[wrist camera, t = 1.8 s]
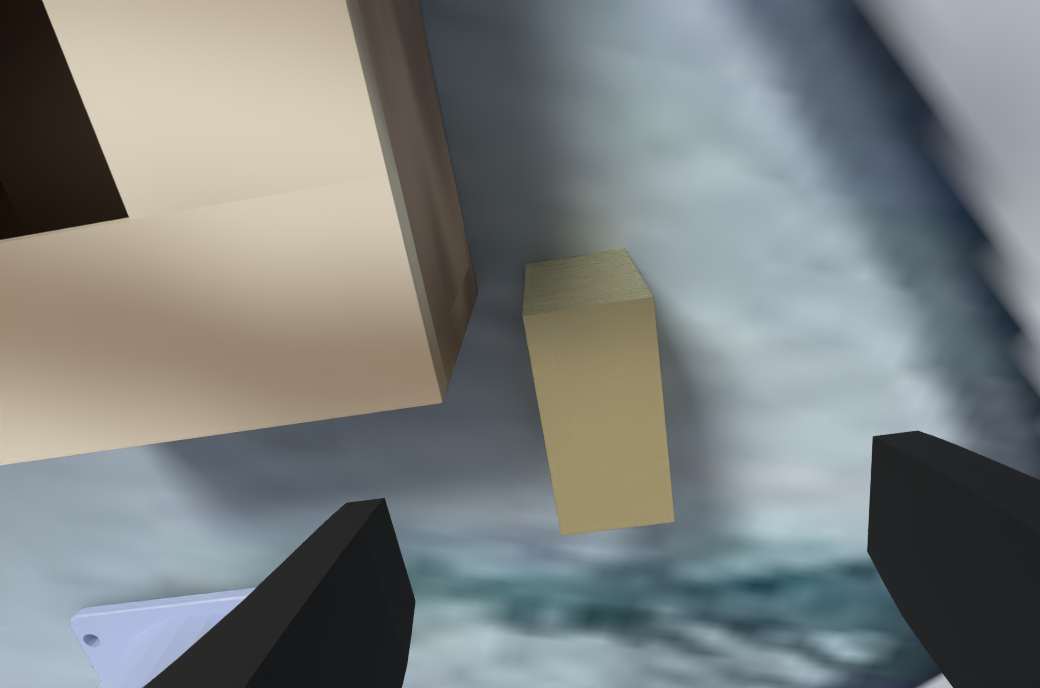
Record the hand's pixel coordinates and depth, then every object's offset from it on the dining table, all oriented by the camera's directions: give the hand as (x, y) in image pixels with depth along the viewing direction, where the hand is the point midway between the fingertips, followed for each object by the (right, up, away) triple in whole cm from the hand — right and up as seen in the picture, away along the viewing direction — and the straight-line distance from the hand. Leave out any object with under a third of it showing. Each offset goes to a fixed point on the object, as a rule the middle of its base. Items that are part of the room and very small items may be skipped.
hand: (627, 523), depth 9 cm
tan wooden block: (0, +3, +7) cm, 7 cm away
